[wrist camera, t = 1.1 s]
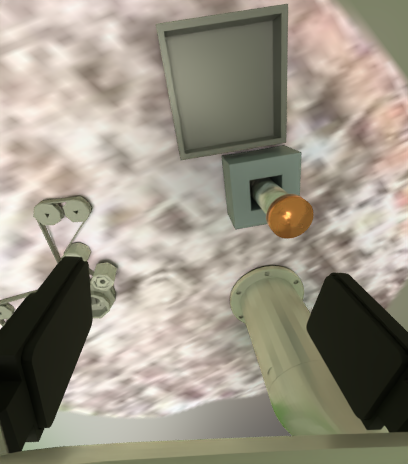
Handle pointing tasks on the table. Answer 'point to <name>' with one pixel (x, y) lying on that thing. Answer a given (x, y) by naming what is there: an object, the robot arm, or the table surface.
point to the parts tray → (227, 80)
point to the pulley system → (104, 272)
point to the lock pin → (281, 208)
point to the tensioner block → (255, 167)
